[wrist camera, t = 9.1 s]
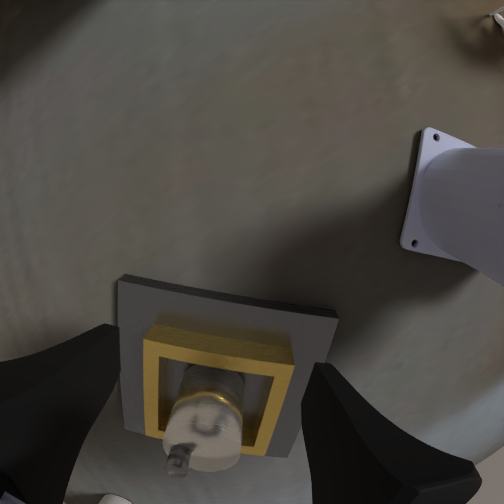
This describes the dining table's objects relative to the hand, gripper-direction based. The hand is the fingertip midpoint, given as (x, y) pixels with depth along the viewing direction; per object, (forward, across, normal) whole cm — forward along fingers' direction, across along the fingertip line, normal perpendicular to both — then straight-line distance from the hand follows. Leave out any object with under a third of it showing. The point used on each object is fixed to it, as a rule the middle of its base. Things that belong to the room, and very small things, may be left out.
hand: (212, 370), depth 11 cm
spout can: (+8, 0, +8) cm, 11 cm away
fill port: (+9, 0, +8) cm, 12 cm away
